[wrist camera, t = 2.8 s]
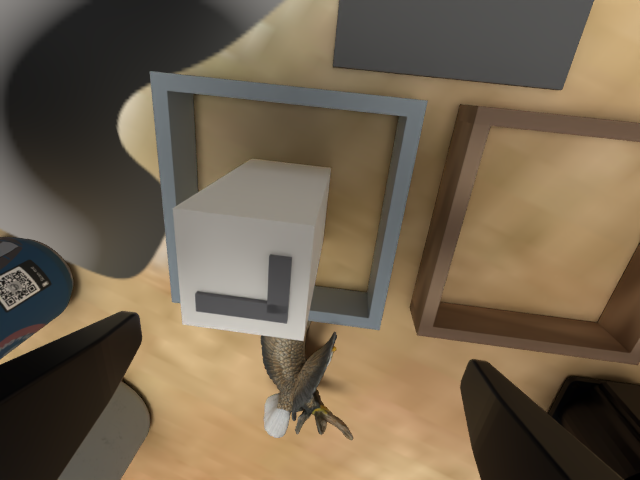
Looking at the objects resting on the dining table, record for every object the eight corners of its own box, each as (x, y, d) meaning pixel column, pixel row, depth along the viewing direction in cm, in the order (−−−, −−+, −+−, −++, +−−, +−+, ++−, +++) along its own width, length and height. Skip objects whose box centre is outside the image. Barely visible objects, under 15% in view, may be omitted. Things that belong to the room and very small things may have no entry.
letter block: (323, 241, 23) (303, 344, 13) (250, 232, 23) (180, 327, 14) (331, 167, 21) (314, 227, 11) (251, 158, 21) (169, 210, 11)
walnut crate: (604, 333, 23) (637, 365, 21) (409, 307, 24) (417, 335, 21) (715, 131, 18) (780, 138, 15) (459, 104, 19) (478, 106, 16)
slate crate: (376, 303, 24) (379, 330, 21) (192, 279, 25) (172, 302, 22) (416, 99, 19) (427, 100, 16) (178, 74, 19) (149, 71, 16)
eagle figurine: (379, 393, 26) (363, 311, 21) (328, 484, 22) (293, 407, 17) (304, 355, 31) (277, 281, 26) (249, 425, 26) (204, 351, 21)
